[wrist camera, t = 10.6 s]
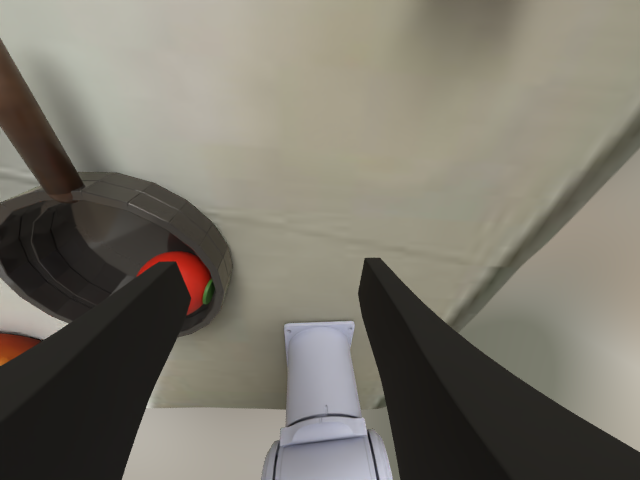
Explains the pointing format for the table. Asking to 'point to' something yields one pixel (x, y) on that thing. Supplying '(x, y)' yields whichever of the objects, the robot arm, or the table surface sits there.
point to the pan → (103, 244)
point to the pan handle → (34, 134)
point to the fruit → (14, 346)
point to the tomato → (189, 276)
